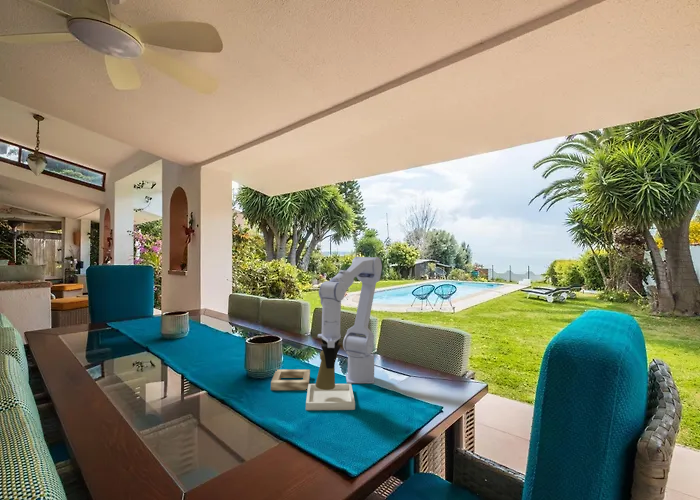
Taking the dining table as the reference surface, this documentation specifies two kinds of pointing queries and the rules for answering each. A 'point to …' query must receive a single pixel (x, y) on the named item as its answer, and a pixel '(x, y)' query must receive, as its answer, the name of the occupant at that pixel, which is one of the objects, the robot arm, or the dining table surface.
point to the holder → (290, 384)
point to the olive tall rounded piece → (325, 375)
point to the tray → (330, 398)
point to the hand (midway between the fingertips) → (330, 364)
